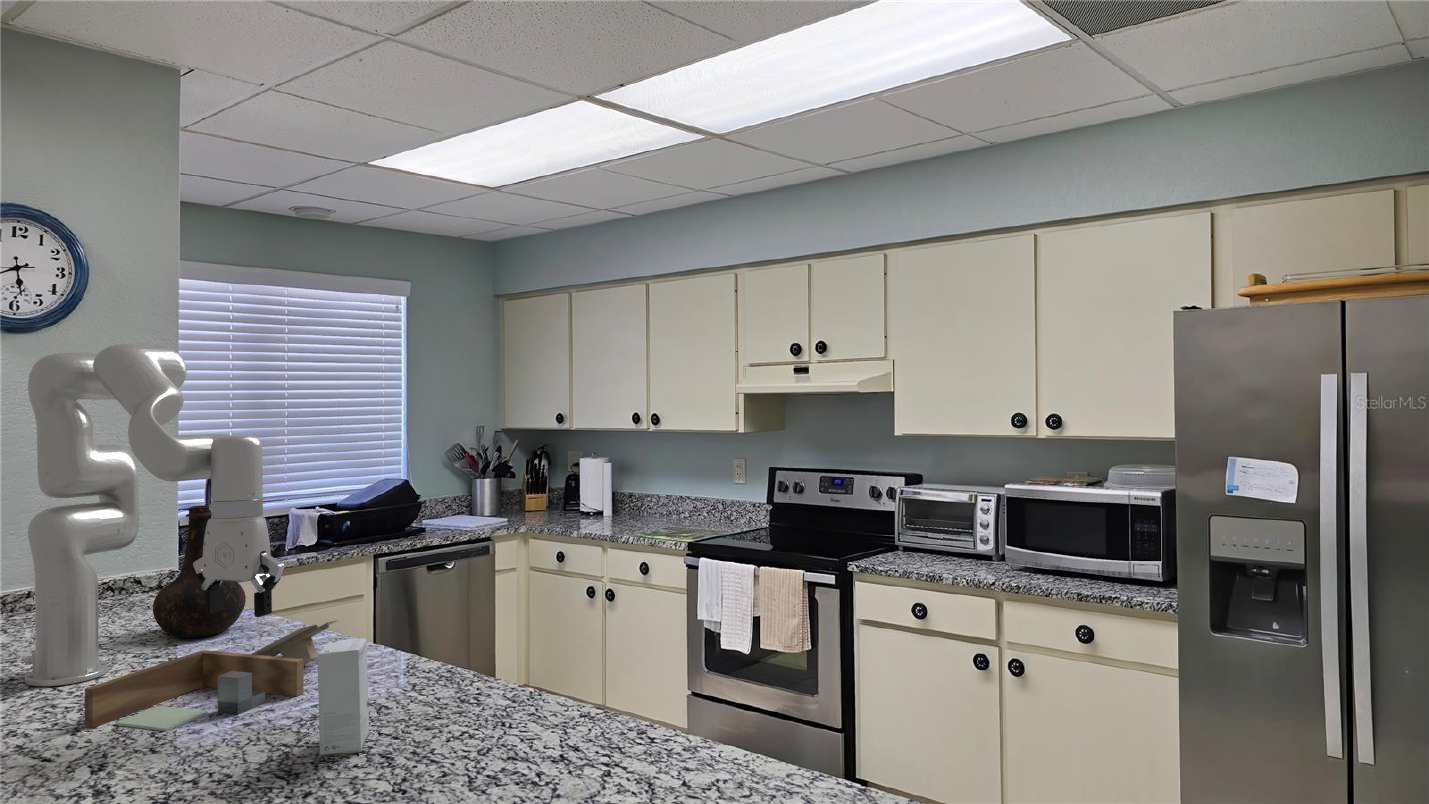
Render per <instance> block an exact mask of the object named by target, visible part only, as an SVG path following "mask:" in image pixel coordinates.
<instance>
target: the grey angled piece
mask: <svg viewBox="0 0 1429 804" xmlns="http://www.w3.org/2000/svg"><path fill="white" fill-rule="evenodd" d="M338 621H339V620H338V619H337V620H332V621H328V622H327V621H326V622H325V623H324V624H322V625H320V626H318V625H317V624H313V625H309V626H304V627H300V628H298V629H296V630H294V631H292V632H290V633H288V634H287V635H284V636H282V637H281V638H278V639H276V640H275V641H273V642H271V643H268V644H267V645H265V646H264V647H262V648H260V649H258V650H256V651H255V652H253V653H252V654H253V655H264V656H274V657H277V656H278V655H281V657H285V658H296V659H304V666H305V665H306V664H308V663H310V662H313V661H315V660H316V659H318V654H319V653H318V652H317V649H316V646H315V644H314V642H313V638H312V637H314V636H316V635H318V634H320V633H322V632H323V631H325V630H327V629H329V628H330V625H333V623H334V624H335V622H338Z"/></svg>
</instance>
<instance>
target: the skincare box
mask: <svg viewBox="0 0 1429 804" xmlns="http://www.w3.org/2000/svg"><path fill="white" fill-rule="evenodd" d="M367 642H368V640H367V638H366V637H365V638H354V639H340V640H330V641H328V642H327V644H326V645H324V646H322V649H321V650H320V652H319V653H317V654H318V658H317V681H318V682H317V685H318V686H317V687H318V690H317V691H318V694H317V695H318V725H319V727H318V730H319V732H318V734H319V735H318V736H319V740H318V741H319V755H321V756H322V755H330V754H331V755H332V754H352V753H360V752H362V748H363V746H364V743H365V741H366V739H367V737H368V735H369V733H370V714H369V713H370V710H369V680H368V679H369V677H368V676H369V674H368V673H369V671H368V670H369V669H368V643H367Z"/></svg>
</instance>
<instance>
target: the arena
mask: <svg viewBox="0 0 1429 804" xmlns="http://www.w3.org/2000/svg"><path fill="white" fill-rule="evenodd" d="M304 666H305V665H304V659H296V658H285V657H283V656H264V655H253V653H251V654H250V653H242V652H240V653H239V652H229V651H220V650H219V651H218V650H206V649H202V650H198V651H196V652H192V653H190V654H187V655H183V656H180V657H177V658H174V659H171V660H168V661H166V662H165V661H164V662H162V663H159V664H156V665H153V666H150V667H146V668H144V669H141V670H138V671H135V672H132V673H128V674H126V675H123V676H120V677H116V678H113V679H110V680H108V681H107V680H106V681H104V682H101V683H97V684H95V685H92V686H88V687H86V688H84V728H91V729H94V728H96V727H100V726H101V725H105V724H107V723H109V722H112V721H114V720H118V719H121V718H123V717H125V716H128V715H131V714H134V713H136V712H140V711H141V710H144V709H147V708H150V707H152V706H156V705H157V704H161V703H164V702H165V701H169V700H171V699H174V698H177V697H179V696H181V695H185V694H187V693H190V692H192V691H195V690H198V689H200V688H203V687H204V688H213V689H218V676H220V675H223V674H225V673H228V672H231V671H237V672H248V673H252V690H256V691H265V694H270V695H281V696H290V697H291V696H292V697H299V696H301V695H304V691H305V690H304V688H305V687H304V683H305V682H304V681H305V680H304V678H305V677H304V674H305V673H304V671H305V668H304Z"/></svg>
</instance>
